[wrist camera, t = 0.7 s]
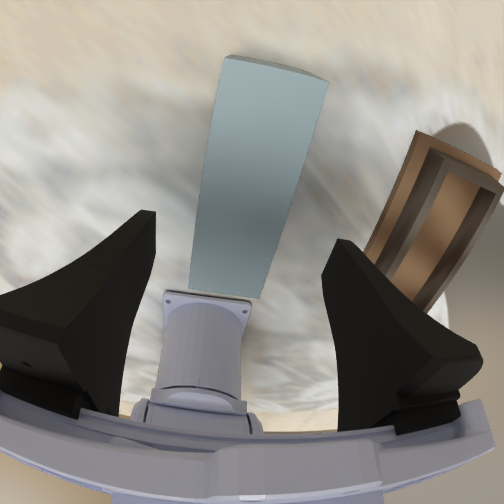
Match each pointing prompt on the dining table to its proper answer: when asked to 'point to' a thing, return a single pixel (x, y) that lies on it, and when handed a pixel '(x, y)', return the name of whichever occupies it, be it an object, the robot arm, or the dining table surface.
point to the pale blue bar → (251, 171)
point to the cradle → (432, 218)
